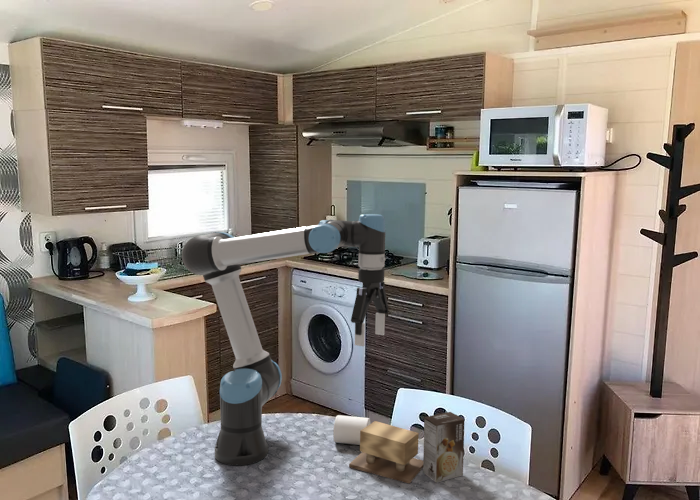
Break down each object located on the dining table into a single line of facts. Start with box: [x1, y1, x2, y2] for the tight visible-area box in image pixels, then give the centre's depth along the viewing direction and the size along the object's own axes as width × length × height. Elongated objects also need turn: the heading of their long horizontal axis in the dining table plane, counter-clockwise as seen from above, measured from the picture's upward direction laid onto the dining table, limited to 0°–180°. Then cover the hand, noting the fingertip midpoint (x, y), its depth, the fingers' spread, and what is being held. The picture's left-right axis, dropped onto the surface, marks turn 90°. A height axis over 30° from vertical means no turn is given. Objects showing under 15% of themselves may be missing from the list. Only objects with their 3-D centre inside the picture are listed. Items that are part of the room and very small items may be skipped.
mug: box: [332, 414, 371, 446], centre depth 179 cm, size 12×10×8 cm
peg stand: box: [348, 452, 423, 485], centre depth 163 cm, size 18×12×4 cm, turn 62°
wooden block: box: [359, 420, 420, 465], centre depth 162 cm, size 14×8×6 cm, turn 57°
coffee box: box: [422, 411, 465, 484], centre depth 158 cm, size 9×6×16 cm
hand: (370, 339), depth 171 cm, fingers open, 13 cm apart
